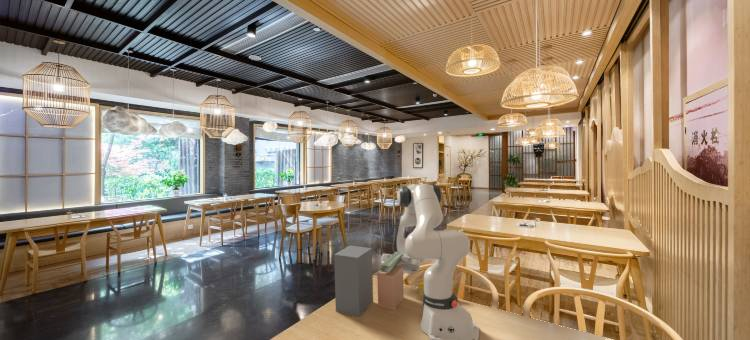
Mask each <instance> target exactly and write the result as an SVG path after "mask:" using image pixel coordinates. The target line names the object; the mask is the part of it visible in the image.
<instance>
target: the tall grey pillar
mask: <svg viewBox="0 0 750 340" xmlns="http://www.w3.org/2000/svg"><path fill="white" fill-rule="evenodd" d="M333 256H334V257H333V260H334V261H333V262H334V263H333V265H334V286H335V287H334V295H335V312H337V313H341V314H346V315H349V316H353V317H357V318H359V317H361V316H362V315H363V314H364V313H365V312H366V310H367V309H368V308H369V307H370V306H372V304H373V303H374V284H373V282H374V279H373V277H374V275H373V248H372V247H364V246H357V245H348V246H347V247H344V248H343V249H341V250H340V251H338V252H335V253H334V254H333Z"/></svg>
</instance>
